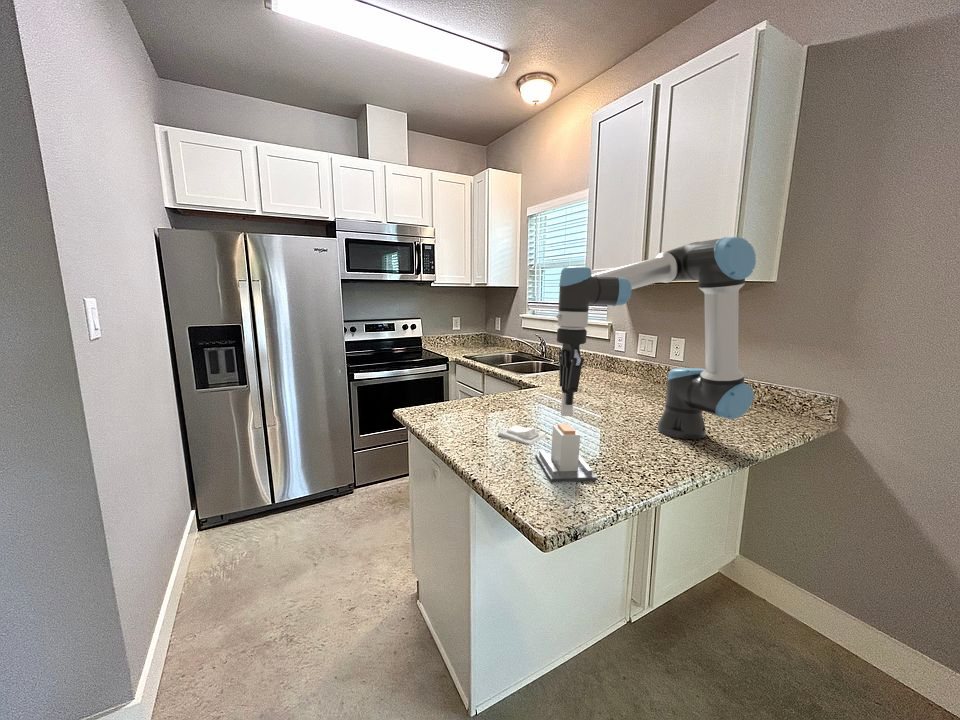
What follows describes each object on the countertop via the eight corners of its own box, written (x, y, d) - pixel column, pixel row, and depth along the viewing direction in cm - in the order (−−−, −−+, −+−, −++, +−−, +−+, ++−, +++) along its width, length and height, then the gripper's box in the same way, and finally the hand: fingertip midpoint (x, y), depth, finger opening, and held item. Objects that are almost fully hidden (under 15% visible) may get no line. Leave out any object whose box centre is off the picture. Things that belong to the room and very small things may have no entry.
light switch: (531, 437, 122) (498, 425, 130) (530, 449, 123) (497, 437, 130) (547, 428, 130) (515, 418, 138) (546, 439, 131) (514, 428, 139)
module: (568, 458, 111) (570, 422, 109) (577, 470, 103) (580, 432, 101) (551, 458, 110) (553, 422, 108) (559, 471, 102) (561, 432, 101)
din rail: (574, 455, 115) (575, 447, 115) (596, 480, 100) (596, 471, 99) (535, 456, 114) (535, 448, 114) (551, 482, 98) (551, 473, 98)
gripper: (550, 325, 106) (546, 408, 110) (566, 330, 94) (560, 423, 97) (577, 326, 107) (571, 408, 111) (596, 330, 94) (589, 423, 98)
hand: (566, 415), depth 104 cm, fingers closed
